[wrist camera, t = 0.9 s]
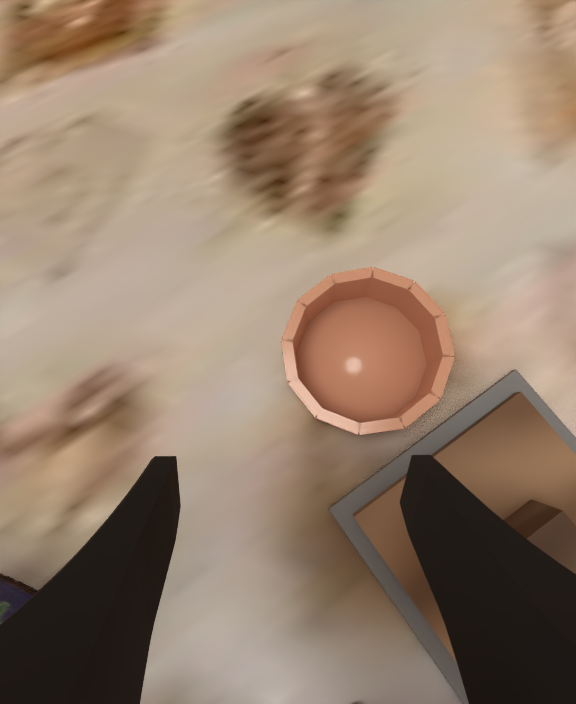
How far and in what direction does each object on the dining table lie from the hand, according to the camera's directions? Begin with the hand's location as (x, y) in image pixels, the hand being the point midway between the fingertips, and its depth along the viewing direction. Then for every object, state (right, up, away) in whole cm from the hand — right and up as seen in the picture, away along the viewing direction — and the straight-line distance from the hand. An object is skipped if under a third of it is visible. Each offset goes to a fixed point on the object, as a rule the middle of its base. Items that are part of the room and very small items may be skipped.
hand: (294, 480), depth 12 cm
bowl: (+4, +3, +13) cm, 14 cm away
